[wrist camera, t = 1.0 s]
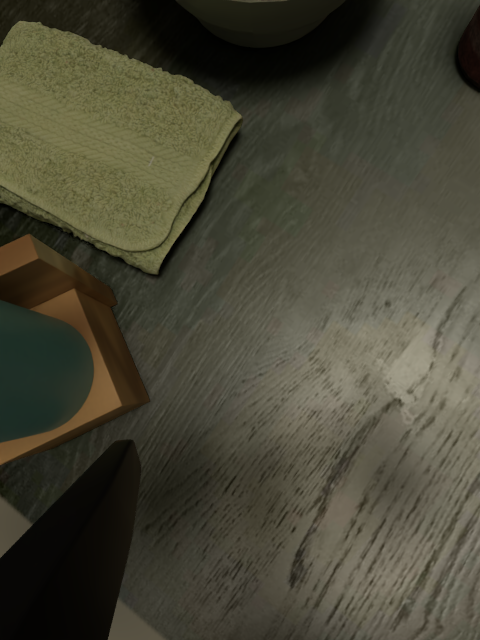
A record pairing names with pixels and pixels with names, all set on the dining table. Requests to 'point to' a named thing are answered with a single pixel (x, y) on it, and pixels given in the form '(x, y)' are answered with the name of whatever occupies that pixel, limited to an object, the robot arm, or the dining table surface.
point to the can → (471, 50)
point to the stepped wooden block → (88, 319)
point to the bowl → (260, 19)
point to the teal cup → (40, 372)
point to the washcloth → (105, 142)
